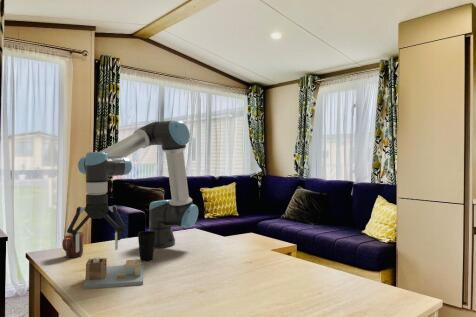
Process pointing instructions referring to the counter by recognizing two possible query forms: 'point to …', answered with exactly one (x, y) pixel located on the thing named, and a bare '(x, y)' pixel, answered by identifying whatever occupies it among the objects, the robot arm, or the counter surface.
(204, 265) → the counter surface
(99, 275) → the link
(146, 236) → the cup
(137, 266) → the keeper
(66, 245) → the mug
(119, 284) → the board
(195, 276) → the counter surface
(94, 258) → the cylinder
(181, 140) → the robot arm
